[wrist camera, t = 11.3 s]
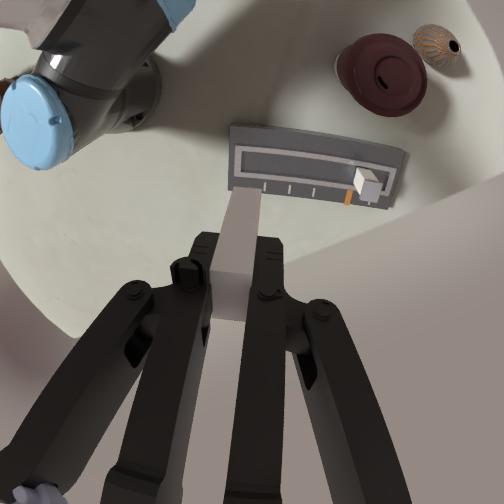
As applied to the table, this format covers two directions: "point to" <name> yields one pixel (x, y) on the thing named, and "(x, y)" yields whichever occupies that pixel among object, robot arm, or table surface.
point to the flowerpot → (3, 93)
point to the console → (309, 164)
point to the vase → (436, 45)
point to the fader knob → (367, 185)
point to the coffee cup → (382, 74)
